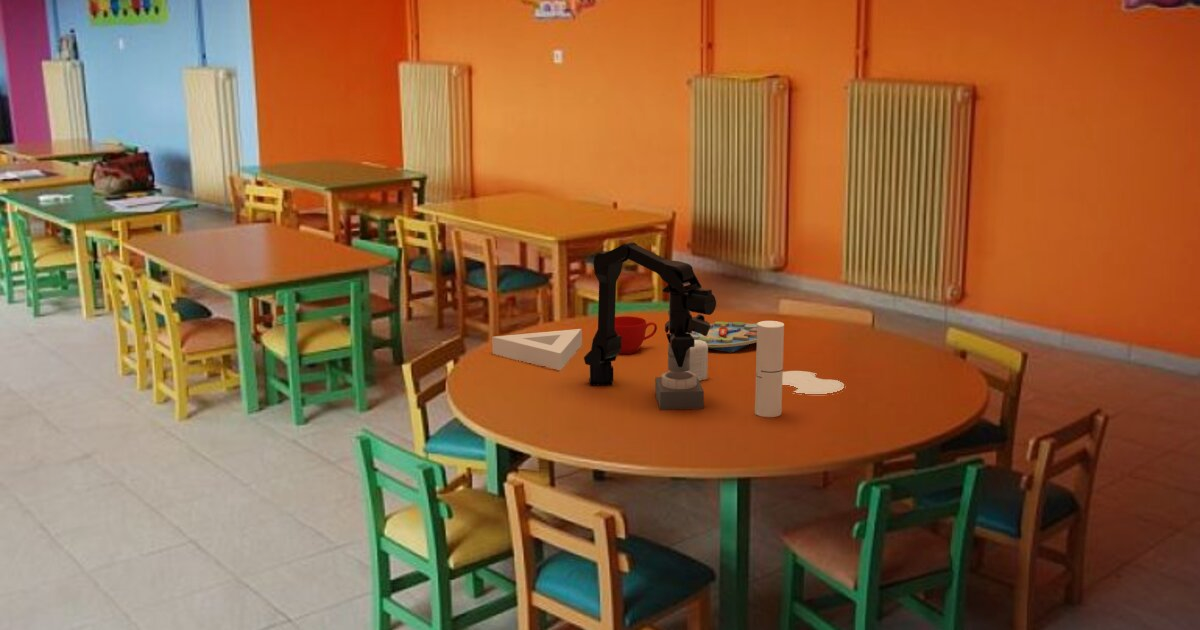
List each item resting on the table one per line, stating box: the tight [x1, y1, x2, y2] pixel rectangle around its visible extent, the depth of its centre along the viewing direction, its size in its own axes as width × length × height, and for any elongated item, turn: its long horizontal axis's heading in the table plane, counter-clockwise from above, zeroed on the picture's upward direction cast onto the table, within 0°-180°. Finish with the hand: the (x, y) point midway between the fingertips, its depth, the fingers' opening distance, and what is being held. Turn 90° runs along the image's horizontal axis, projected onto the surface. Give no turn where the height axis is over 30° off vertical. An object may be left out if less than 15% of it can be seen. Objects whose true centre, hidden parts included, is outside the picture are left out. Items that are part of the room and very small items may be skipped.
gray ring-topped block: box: [654, 370, 705, 410], centre depth 338 cm, size 12×14×8 cm
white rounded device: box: [688, 340, 709, 382], centre depth 356 cm, size 10×4×12 cm, turn 123°
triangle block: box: [491, 328, 583, 372], centre depth 379 cm, size 30×26×6 cm
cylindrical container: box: [754, 320, 785, 418], centre depth 325 cm, size 7×7×25 cm
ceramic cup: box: [615, 315, 658, 355], centre depth 388 cm, size 13×17×10 cm
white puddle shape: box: [782, 370, 845, 394], centre depth 354 cm, size 20×2×25 cm
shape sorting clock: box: [686, 321, 757, 353], centre depth 399 cm, size 31×30×6 cm
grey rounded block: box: [667, 342, 690, 372], centre depth 336 cm, size 6×6×7 cm
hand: (678, 363), depth 336 cm, fingers closed on grey rounded block, 6 cm apart
